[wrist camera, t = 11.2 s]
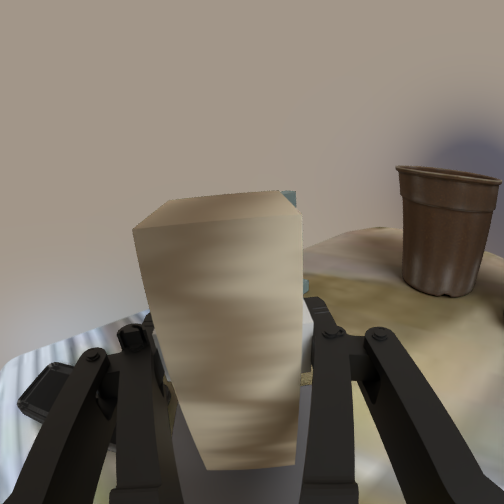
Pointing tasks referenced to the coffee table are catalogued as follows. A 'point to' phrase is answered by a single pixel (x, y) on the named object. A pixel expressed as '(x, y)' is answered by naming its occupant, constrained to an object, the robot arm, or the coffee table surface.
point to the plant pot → (444, 227)
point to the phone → (53, 394)
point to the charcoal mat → (239, 481)
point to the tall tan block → (229, 320)
